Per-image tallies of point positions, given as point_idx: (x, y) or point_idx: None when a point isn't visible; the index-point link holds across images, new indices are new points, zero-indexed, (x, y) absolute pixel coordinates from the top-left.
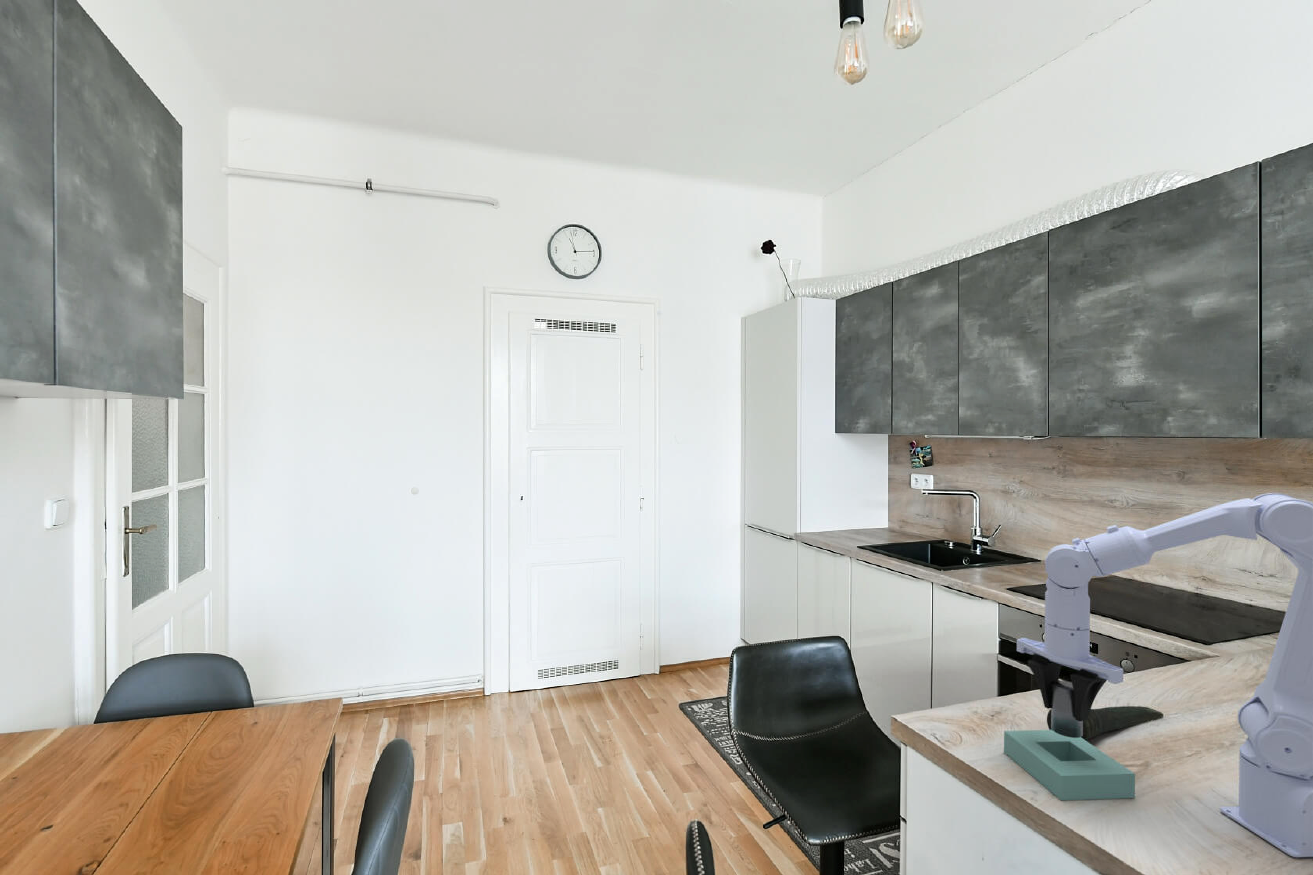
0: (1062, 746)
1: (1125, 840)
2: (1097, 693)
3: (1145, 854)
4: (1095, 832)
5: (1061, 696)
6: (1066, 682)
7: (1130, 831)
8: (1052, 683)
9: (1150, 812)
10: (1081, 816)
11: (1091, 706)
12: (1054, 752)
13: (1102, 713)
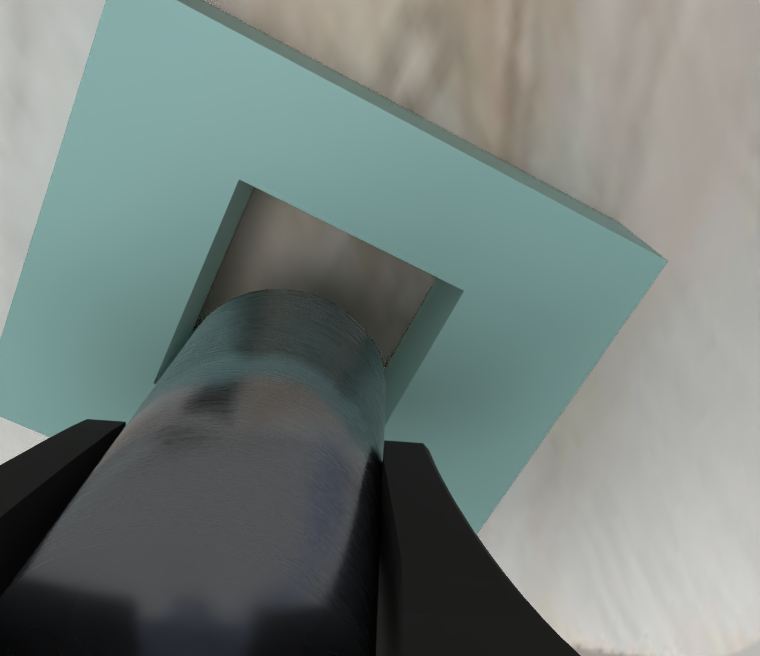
0: (227, 215)
1: (684, 566)
2: (546, 623)
3: (754, 587)
4: (598, 601)
5: None
6: (80, 599)
7: (682, 501)
8: None
9: (705, 292)
10: (526, 552)
11: (459, 509)
12: (217, 254)
13: None
